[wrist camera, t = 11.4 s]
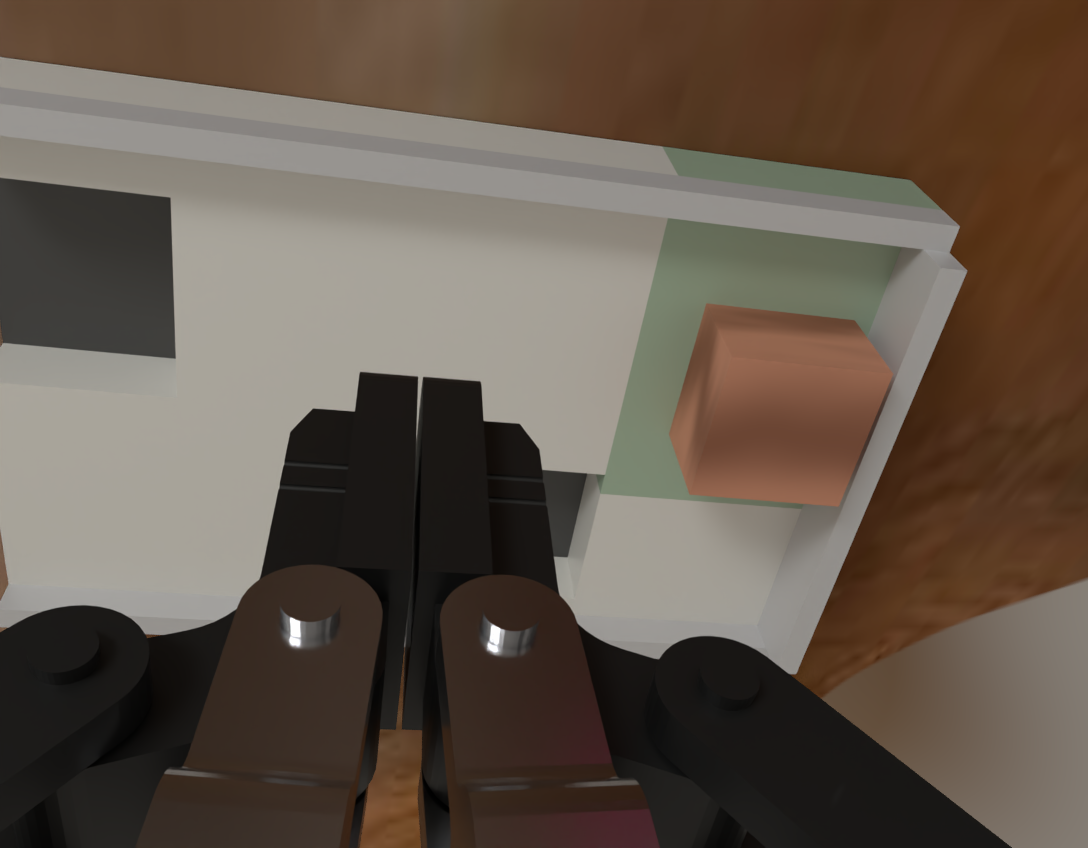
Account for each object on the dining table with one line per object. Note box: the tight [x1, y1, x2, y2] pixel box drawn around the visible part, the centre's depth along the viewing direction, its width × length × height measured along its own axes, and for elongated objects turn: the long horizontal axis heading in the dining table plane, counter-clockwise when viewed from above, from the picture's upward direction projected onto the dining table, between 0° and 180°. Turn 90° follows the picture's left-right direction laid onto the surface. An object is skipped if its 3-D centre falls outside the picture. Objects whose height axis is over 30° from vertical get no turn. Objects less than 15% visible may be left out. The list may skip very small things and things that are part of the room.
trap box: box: [0, 57, 967, 674], centre depth 41 cm, size 22×34×6 cm, turn 81°
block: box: [669, 303, 893, 507], centre depth 39 cm, size 6×6×4 cm
